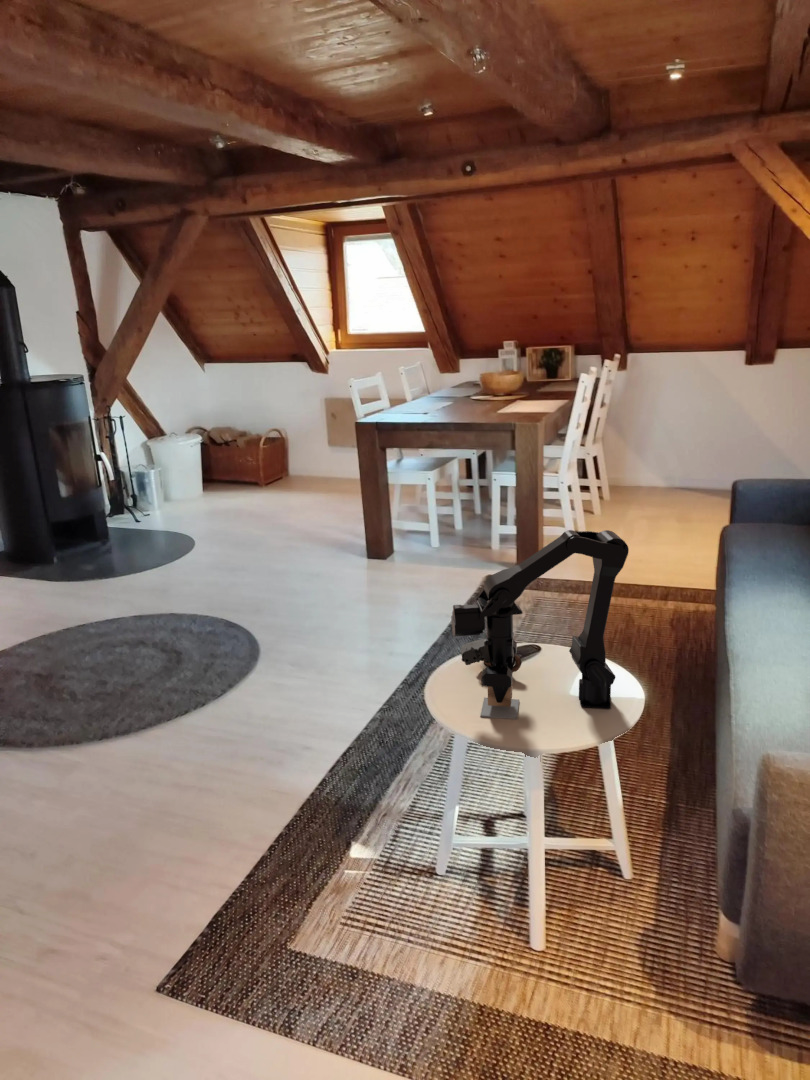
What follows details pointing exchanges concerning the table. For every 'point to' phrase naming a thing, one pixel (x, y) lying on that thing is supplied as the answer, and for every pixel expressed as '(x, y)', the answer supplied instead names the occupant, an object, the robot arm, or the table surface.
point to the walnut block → (505, 701)
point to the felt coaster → (500, 710)
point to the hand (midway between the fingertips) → (500, 696)
